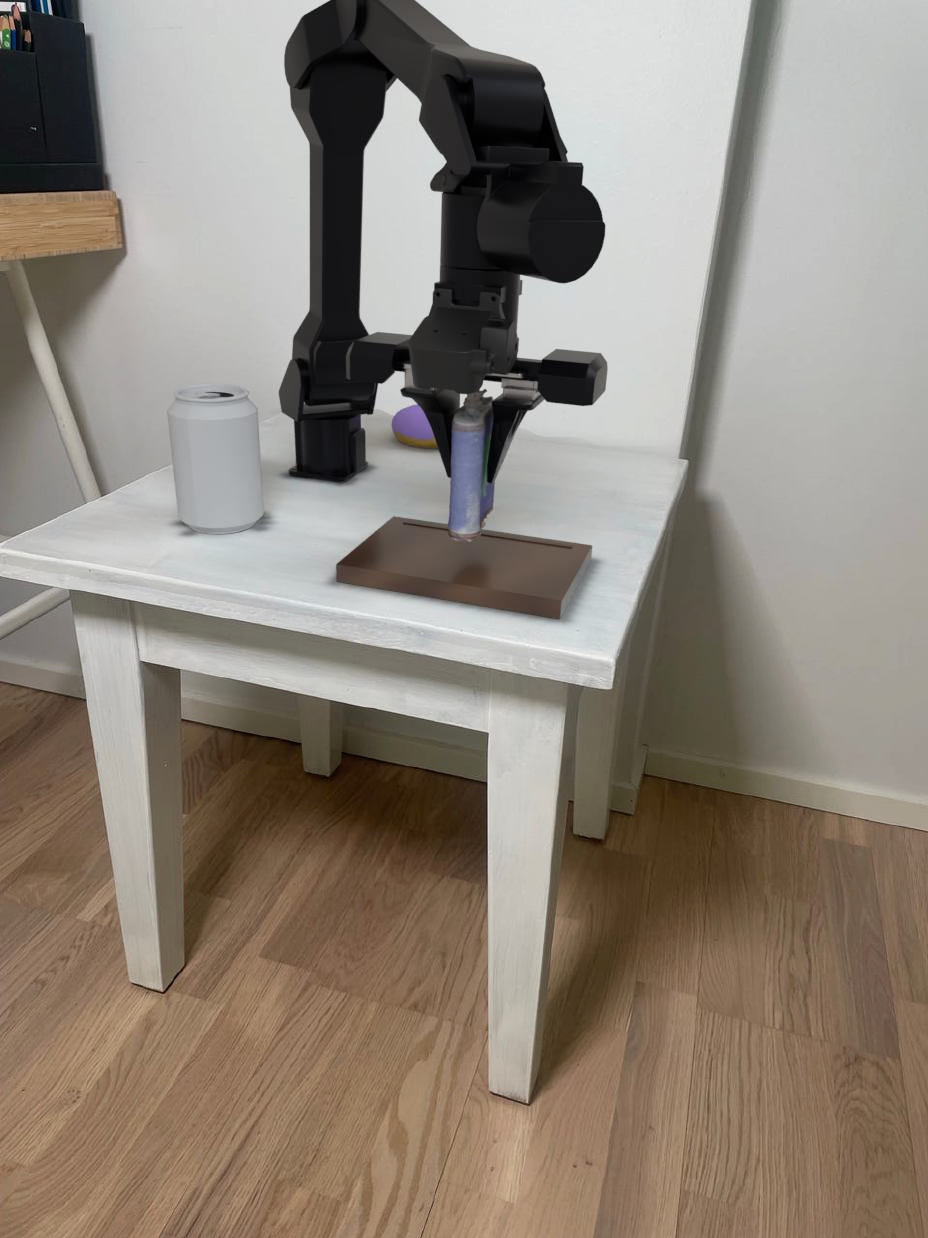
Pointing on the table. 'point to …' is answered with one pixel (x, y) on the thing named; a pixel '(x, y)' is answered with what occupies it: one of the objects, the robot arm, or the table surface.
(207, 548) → the table surface
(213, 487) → the can
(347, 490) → the table surface
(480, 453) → the flask
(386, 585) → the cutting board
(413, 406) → the donut
